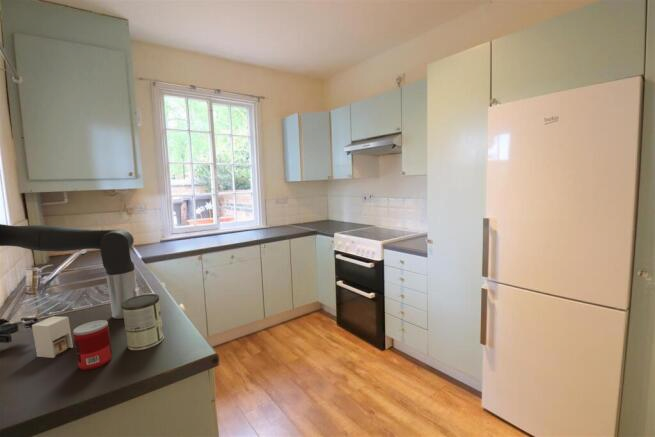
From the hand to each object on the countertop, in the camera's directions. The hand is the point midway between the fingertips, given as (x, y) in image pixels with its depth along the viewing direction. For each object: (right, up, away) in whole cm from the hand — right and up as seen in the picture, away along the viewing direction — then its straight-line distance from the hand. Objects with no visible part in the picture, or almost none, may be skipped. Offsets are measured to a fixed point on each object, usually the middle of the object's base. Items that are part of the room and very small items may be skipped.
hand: (26, 331), depth 98 cm
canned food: (+28, -6, -8) cm, 30 cm away
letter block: (+10, -6, -1) cm, 12 cm away
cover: (+10, -6, -1) cm, 12 cm away
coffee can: (+36, -4, +2) cm, 36 cm away
